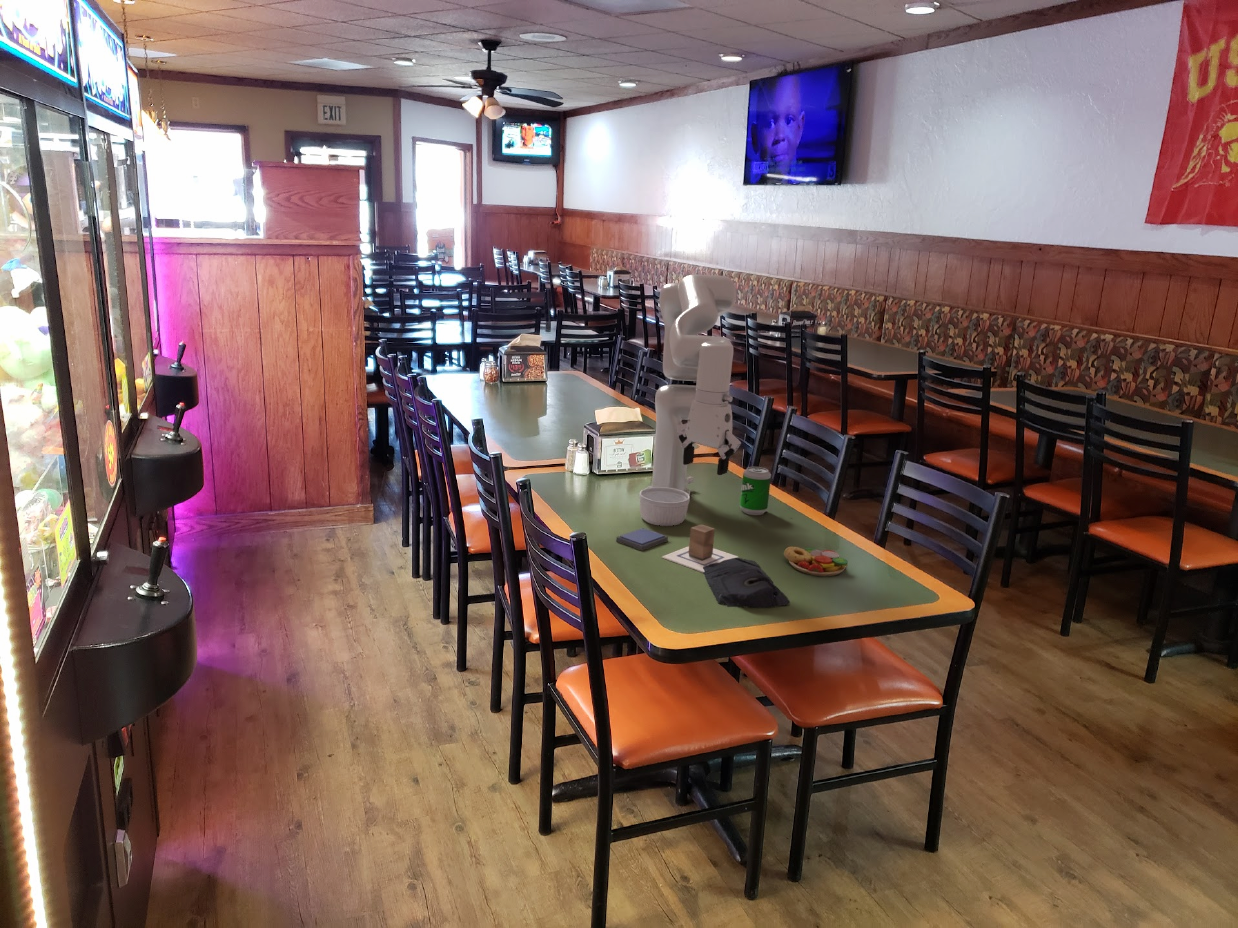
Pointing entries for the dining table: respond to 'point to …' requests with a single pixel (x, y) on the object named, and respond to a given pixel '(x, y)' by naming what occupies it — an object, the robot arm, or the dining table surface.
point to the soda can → (755, 490)
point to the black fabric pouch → (743, 584)
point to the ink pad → (642, 539)
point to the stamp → (701, 542)
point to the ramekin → (663, 505)
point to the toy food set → (815, 561)
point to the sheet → (686, 560)
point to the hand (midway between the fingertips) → (704, 468)
